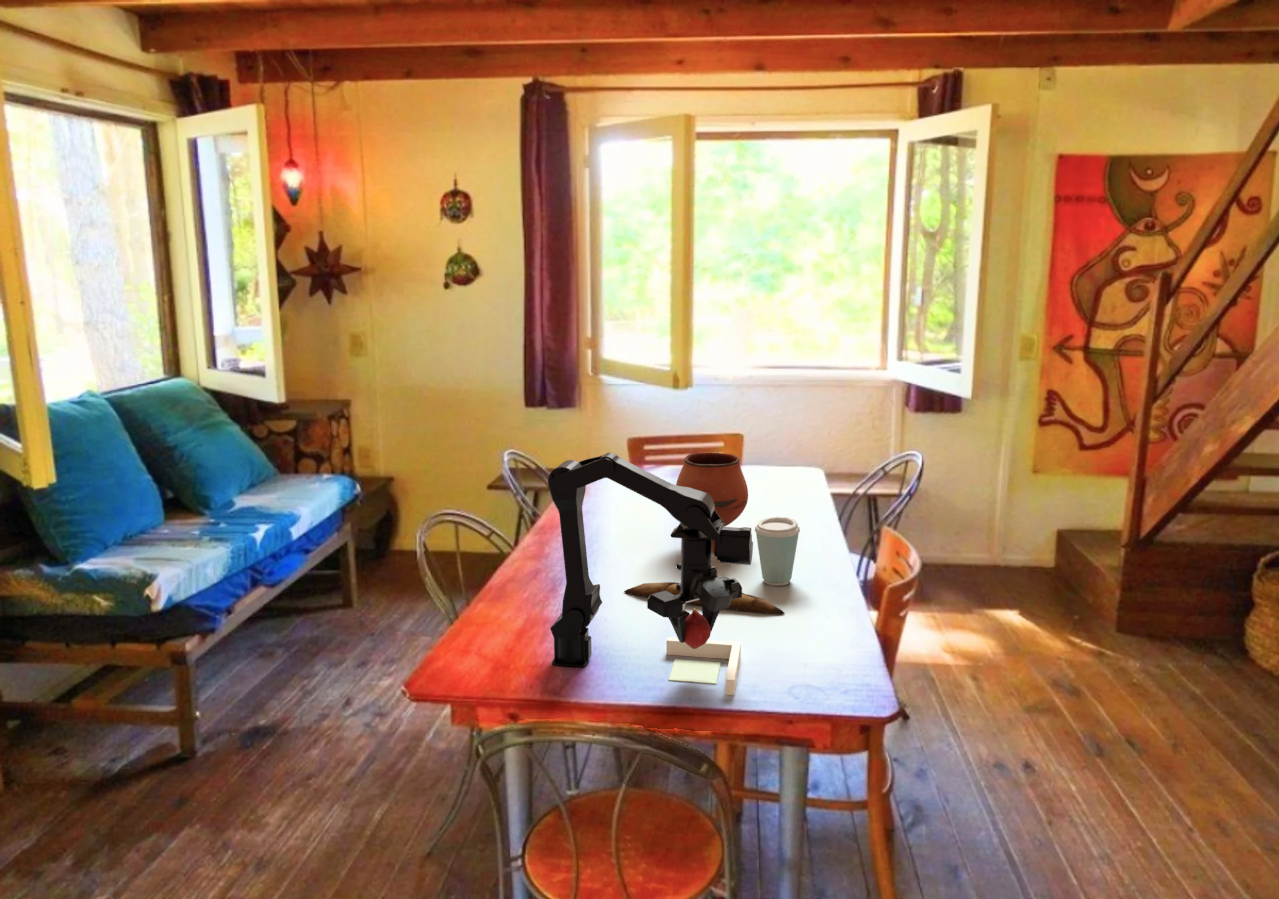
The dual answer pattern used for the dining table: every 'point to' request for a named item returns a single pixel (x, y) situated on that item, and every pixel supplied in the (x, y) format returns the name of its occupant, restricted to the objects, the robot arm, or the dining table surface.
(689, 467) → the goblet
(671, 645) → the arena
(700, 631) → the onion
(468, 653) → the dining table surface
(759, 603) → the bread
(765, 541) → the disposable coffee cup
